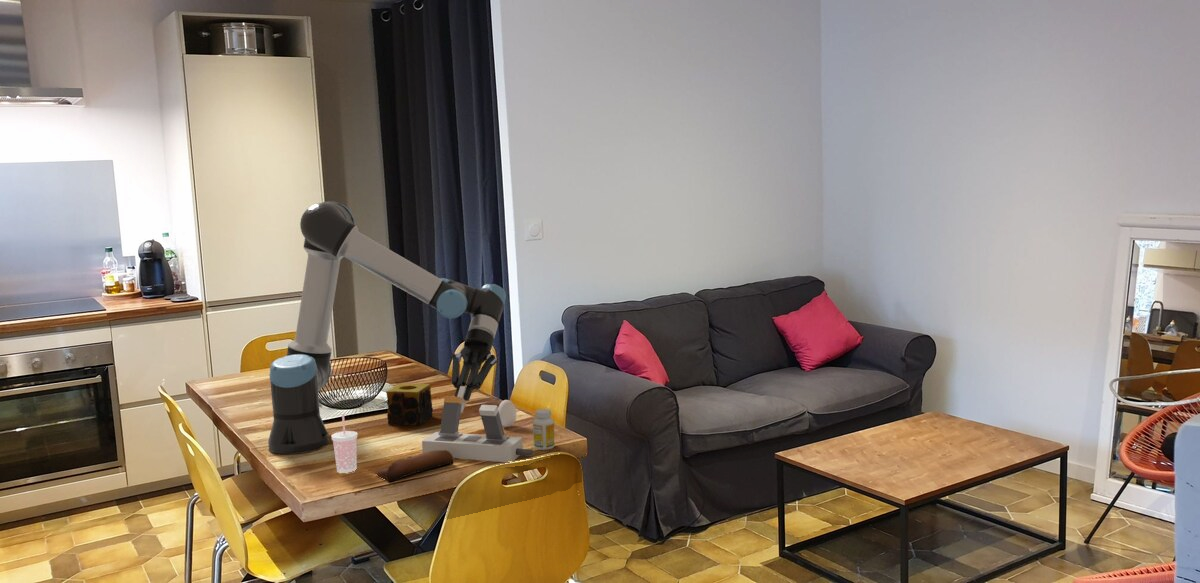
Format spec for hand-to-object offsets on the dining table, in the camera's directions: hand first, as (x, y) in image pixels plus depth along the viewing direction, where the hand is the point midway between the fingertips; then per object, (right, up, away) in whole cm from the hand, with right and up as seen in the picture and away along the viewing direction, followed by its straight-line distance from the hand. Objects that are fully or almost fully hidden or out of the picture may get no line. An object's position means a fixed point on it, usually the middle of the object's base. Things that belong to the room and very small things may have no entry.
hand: (458, 410), depth 235 cm
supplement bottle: (+22, -10, -1) cm, 24 cm away
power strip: (+7, -10, -6) cm, 14 cm away
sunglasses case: (-8, -13, -16) cm, 22 cm away
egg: (+11, -7, +18) cm, 22 cm away
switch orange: (-2, -5, -4) cm, 7 cm away
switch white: (+11, -6, -8) cm, 15 cm away
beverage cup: (-25, -13, -15) cm, 32 cm away
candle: (-18, -7, +27) cm, 33 cm away
